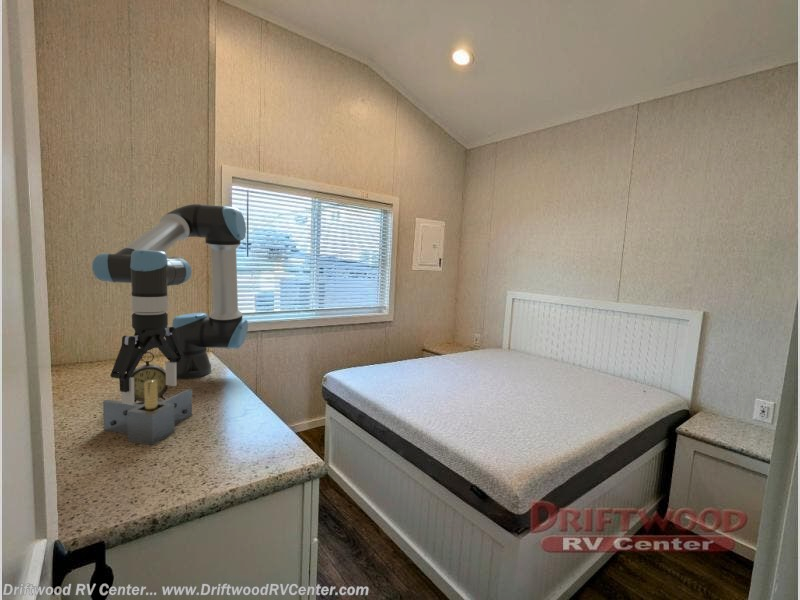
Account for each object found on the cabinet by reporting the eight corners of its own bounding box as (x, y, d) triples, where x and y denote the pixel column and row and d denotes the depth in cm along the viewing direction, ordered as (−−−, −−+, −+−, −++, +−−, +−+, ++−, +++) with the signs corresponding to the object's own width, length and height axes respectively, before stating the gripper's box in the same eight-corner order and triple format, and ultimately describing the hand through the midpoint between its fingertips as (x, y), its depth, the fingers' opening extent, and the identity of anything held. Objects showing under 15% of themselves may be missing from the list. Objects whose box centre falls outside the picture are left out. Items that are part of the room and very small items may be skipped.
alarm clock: (126, 408, 114) (125, 355, 112) (127, 401, 118) (126, 351, 117) (169, 402, 120) (168, 352, 118) (168, 396, 124) (168, 348, 122)
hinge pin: (151, 433, 100) (150, 379, 98) (160, 435, 100) (160, 380, 98) (142, 438, 97) (141, 382, 96) (151, 440, 97) (151, 383, 95)
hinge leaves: (149, 408, 115) (148, 383, 114) (201, 416, 112) (201, 390, 111) (93, 435, 97) (92, 405, 96) (152, 445, 94) (152, 414, 94)
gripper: (174, 304, 107) (174, 377, 110) (88, 318, 83) (91, 410, 86) (197, 307, 106) (197, 380, 109) (118, 321, 82) (120, 415, 84)
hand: (151, 393), depth 97 cm, fingers open, 13 cm apart
